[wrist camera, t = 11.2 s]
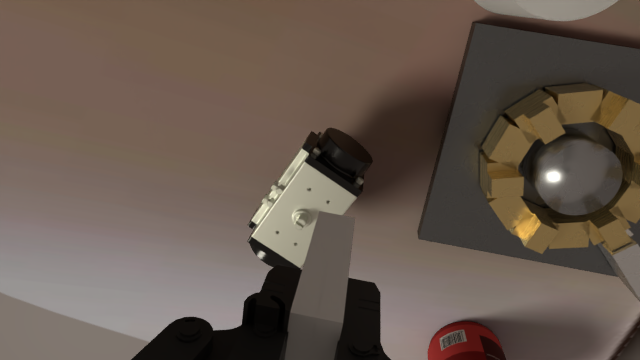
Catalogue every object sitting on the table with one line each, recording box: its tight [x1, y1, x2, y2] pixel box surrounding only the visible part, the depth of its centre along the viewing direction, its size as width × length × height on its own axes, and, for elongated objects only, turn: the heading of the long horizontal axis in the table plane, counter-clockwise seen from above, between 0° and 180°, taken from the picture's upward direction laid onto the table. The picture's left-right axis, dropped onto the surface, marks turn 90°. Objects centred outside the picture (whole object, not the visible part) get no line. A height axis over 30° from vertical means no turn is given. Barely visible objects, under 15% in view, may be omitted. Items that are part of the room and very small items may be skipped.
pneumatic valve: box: [248, 128, 373, 269], centre depth 38 cm, size 6×12×12 cm, turn 146°
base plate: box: [418, 22, 640, 277], centre depth 38 cm, size 20×20×6 cm
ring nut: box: [480, 83, 640, 302], centre depth 37 cm, size 20×13×5 cm
